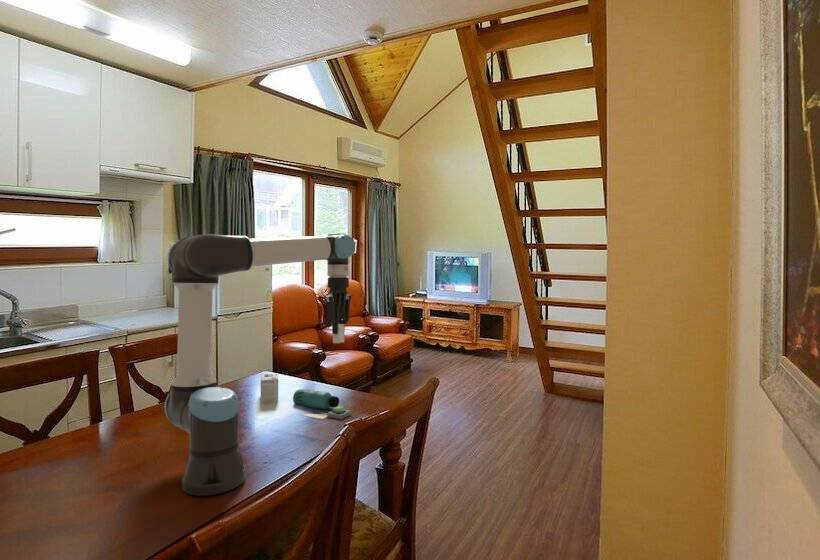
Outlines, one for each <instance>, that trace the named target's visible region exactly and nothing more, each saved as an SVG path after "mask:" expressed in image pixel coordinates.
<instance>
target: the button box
mask: <svg viewBox="0 0 820 560" xmlns="http://www.w3.org/2000/svg"><path fill="white" fill-rule="evenodd" d="M327 412H328V413H327V418H331V419H334V420H335V419H336V420H343V419H345V418H347V417H350V416H351V415H352V411H351V410H348V409H344V412H343V413H340V414H337V413H335V412H334V409H333V410H331V411H327Z"/></svg>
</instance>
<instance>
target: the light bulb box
mask: <svg viewBox="0 0 820 560" xmlns="http://www.w3.org/2000/svg"><path fill="white" fill-rule="evenodd" d="M278 402H279V375H278V373H267V374H263V373H262V374H261V375H260V404H271V403H272V404H276V403H278Z"/></svg>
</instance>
